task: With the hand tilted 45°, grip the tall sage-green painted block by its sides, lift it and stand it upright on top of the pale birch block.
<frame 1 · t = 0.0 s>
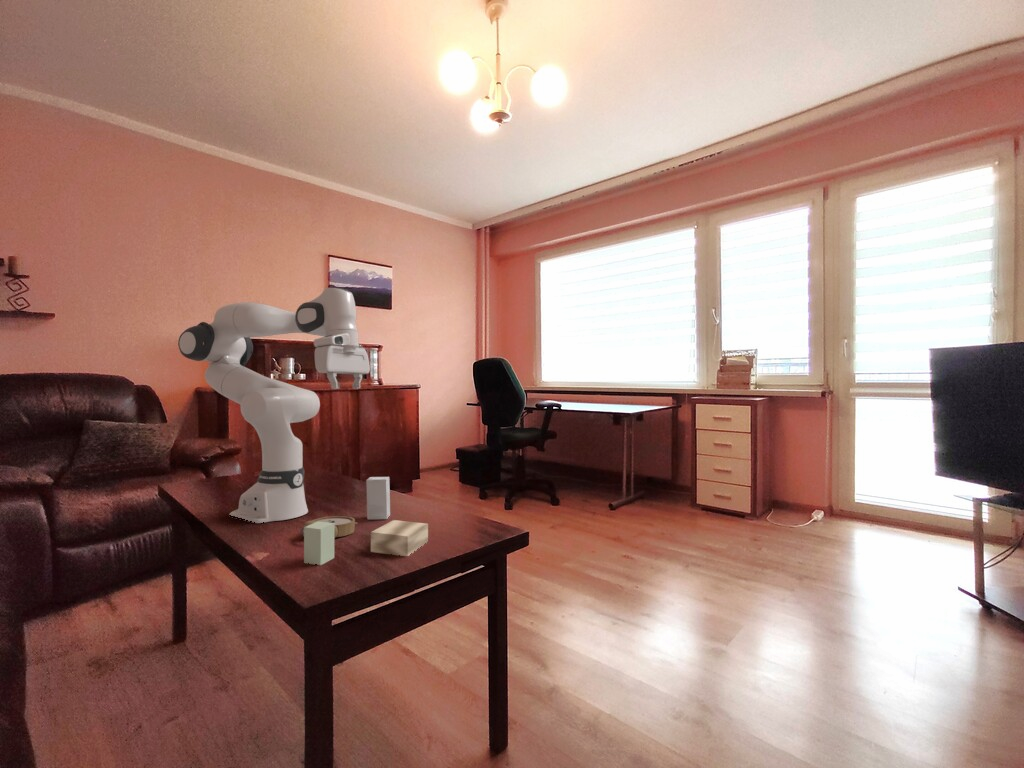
hand: (346, 389, 130), 39 cm above the table, tool pointing down, fingers open, 8 cm apart
alarm clock: (328, 536, 119), on the table
birch block: (400, 547, 110), on the table
sage block: (319, 560, 101), on the table
skincare box: (378, 518, 134), on the table
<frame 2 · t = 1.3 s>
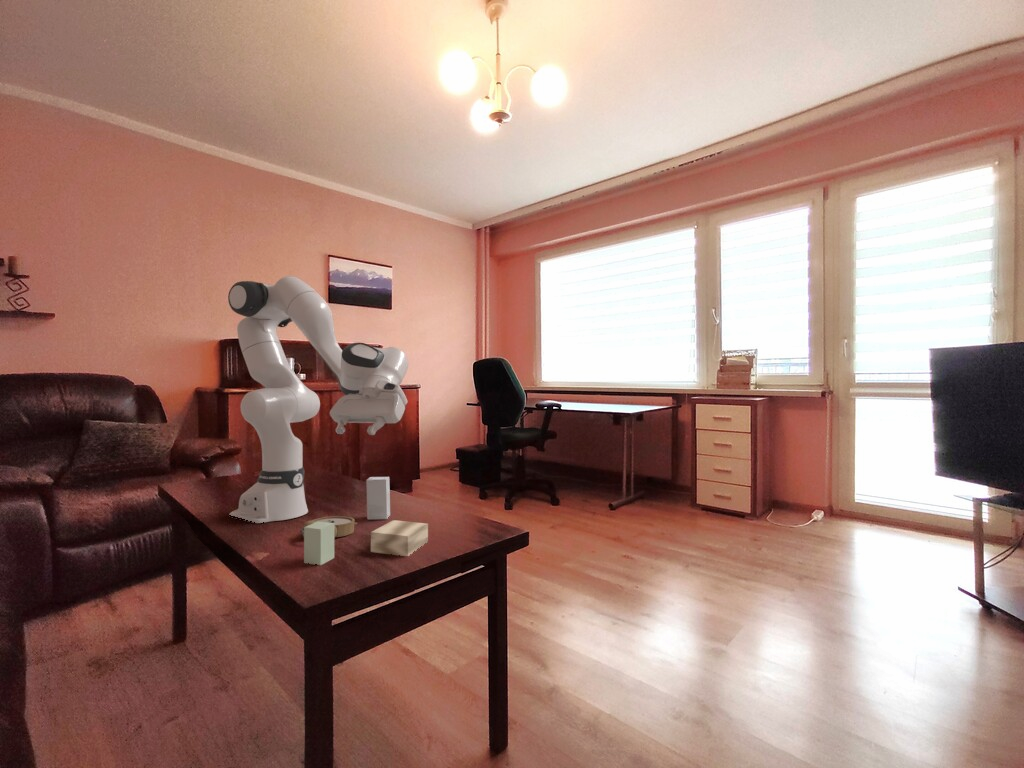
hand: (354, 433, 113), 28 cm above the table, tool tilted 45°, fingers open, 8 cm apart
nothing on the table moved.
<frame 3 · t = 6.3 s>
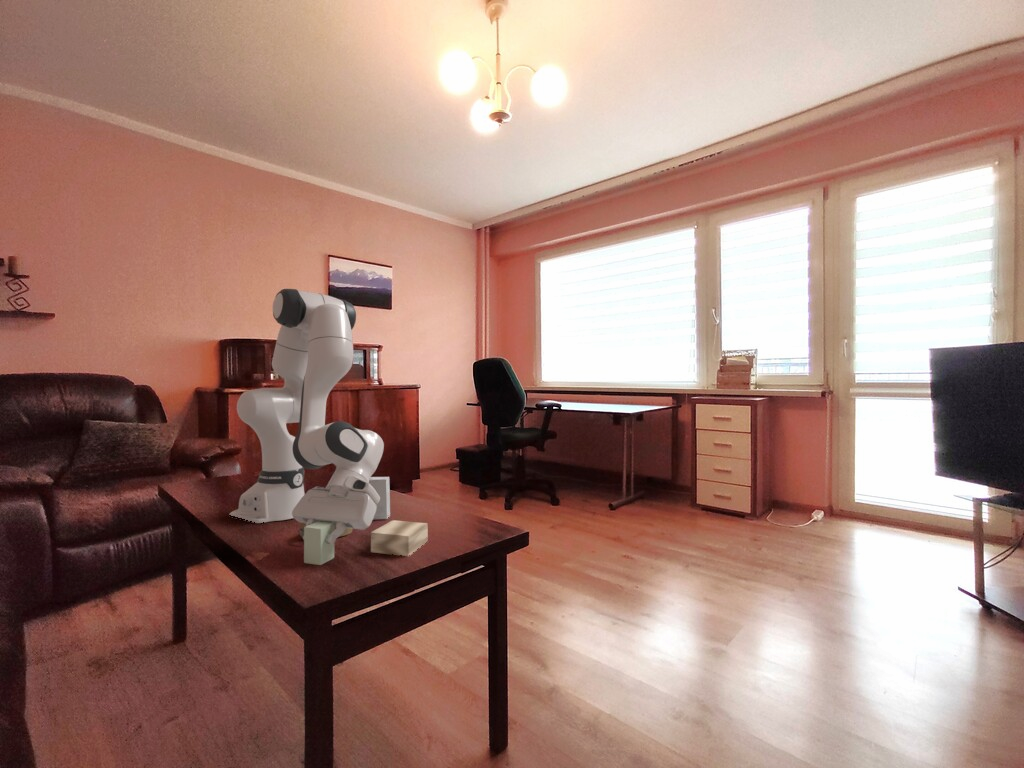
hand: (317, 541, 101), 4 cm above the table, tool tilted 45°, fingers closed on sage block, 4 cm apart
sage block: (319, 560, 101), on the table, touching gripper
everything else where it was.
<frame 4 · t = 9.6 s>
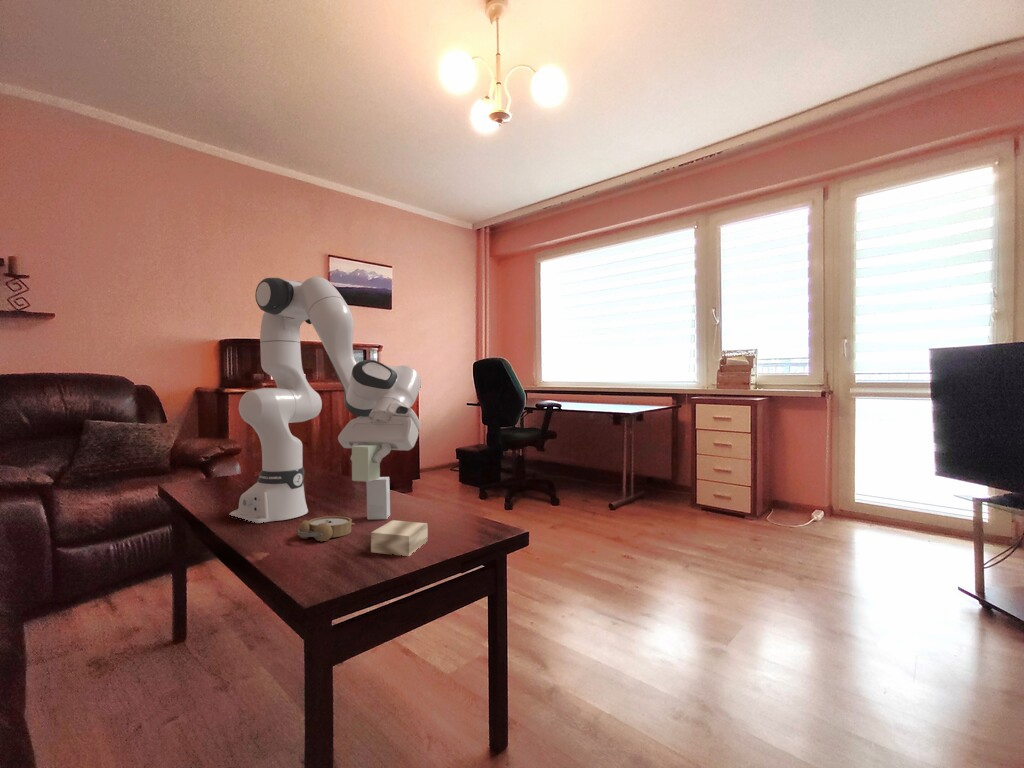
hand: (364, 461, 105), 22 cm above the table, tool tilted 45°, fingers closed on sage block, 4 cm apart
sage block: (366, 479, 106), point 18 cm above the table, touching gripper
everything else where it was.
when the fingers open (11 cm above the table, at t = 13.2 s): sage block drops 2 cm, point 5 cm above the table.
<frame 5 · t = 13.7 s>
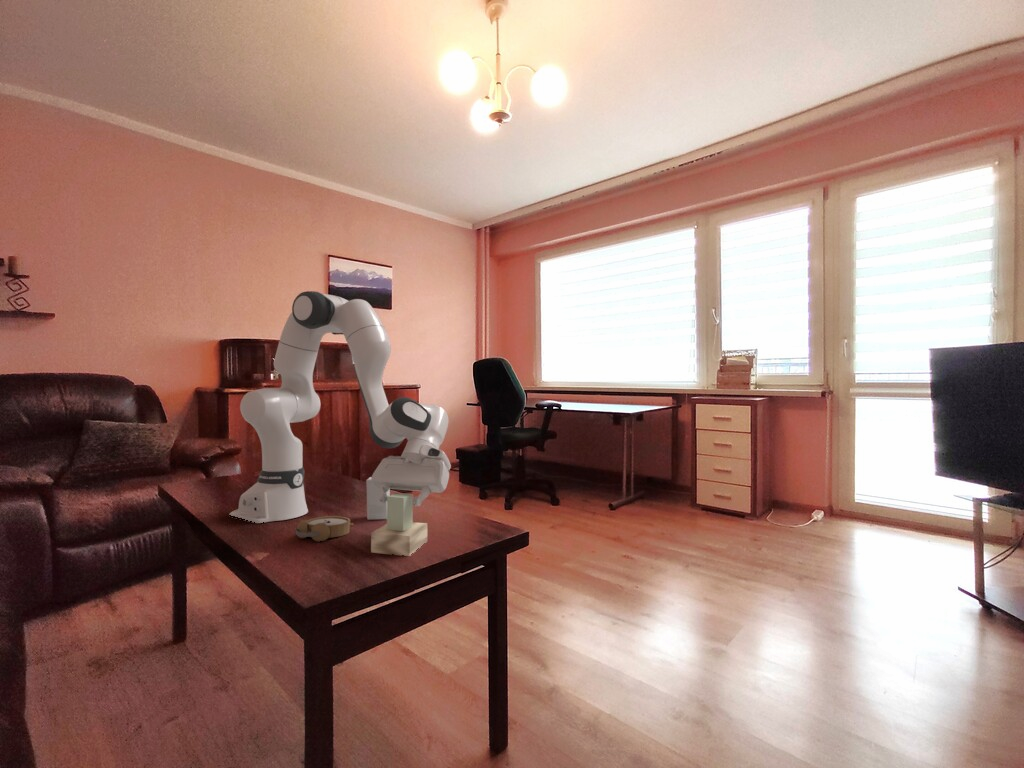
hand: (398, 503, 109), 11 cm above the table, tool tilted 45°, fingers open, 8 cm apart
sage block: (399, 527, 110), point 5 cm above the table
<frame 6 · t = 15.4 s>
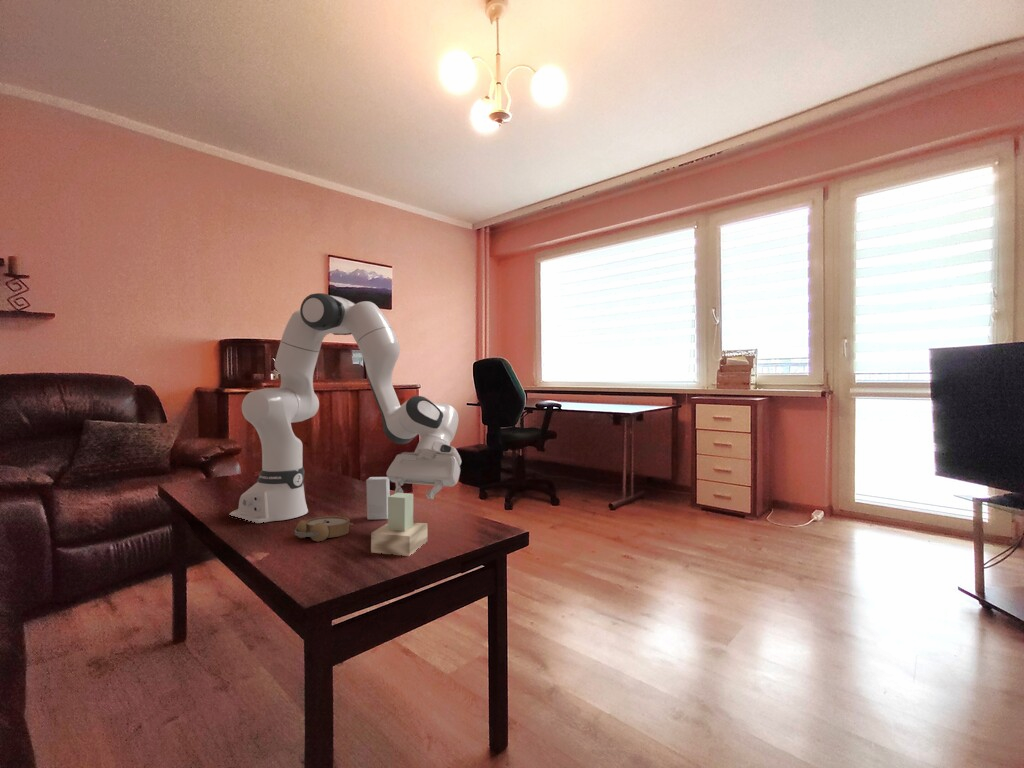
hand: (413, 496, 116), 11 cm above the table, tool tilted 45°, fingers open, 8 cm apart
birch block: (400, 548, 110), on the table, touching sage block
sage block: (400, 527, 110), point 5 cm above the table, touching birch block
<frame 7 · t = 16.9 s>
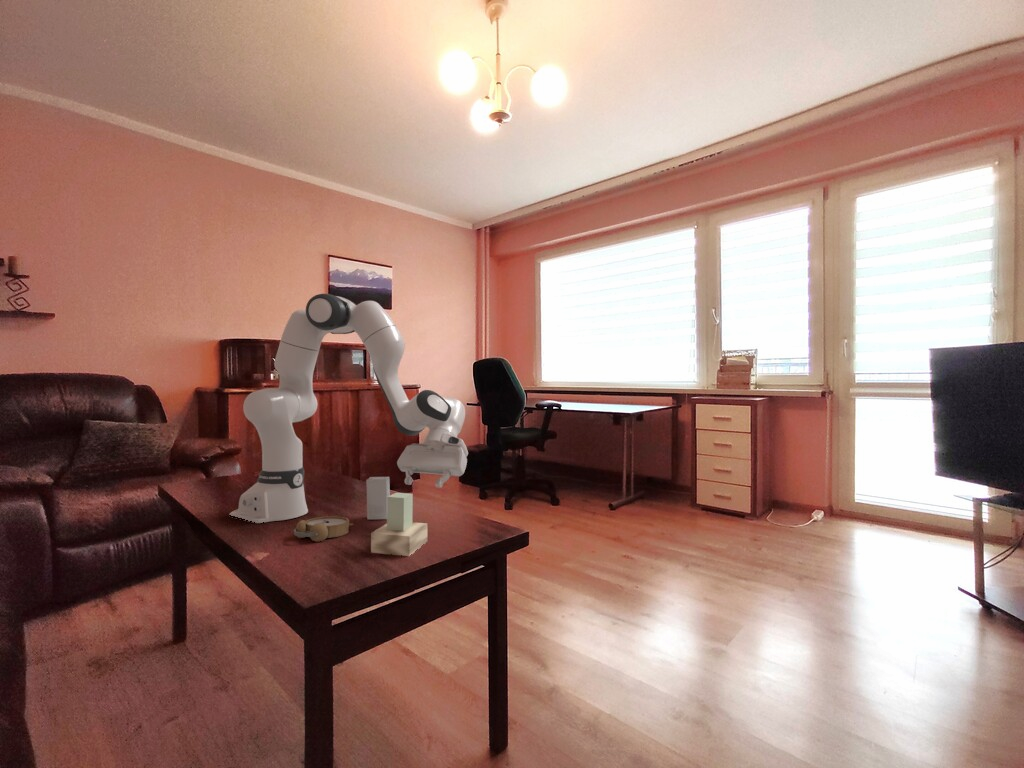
hand: (422, 484, 123), 12 cm above the table, tool tilted 45°, fingers open, 8 cm apart
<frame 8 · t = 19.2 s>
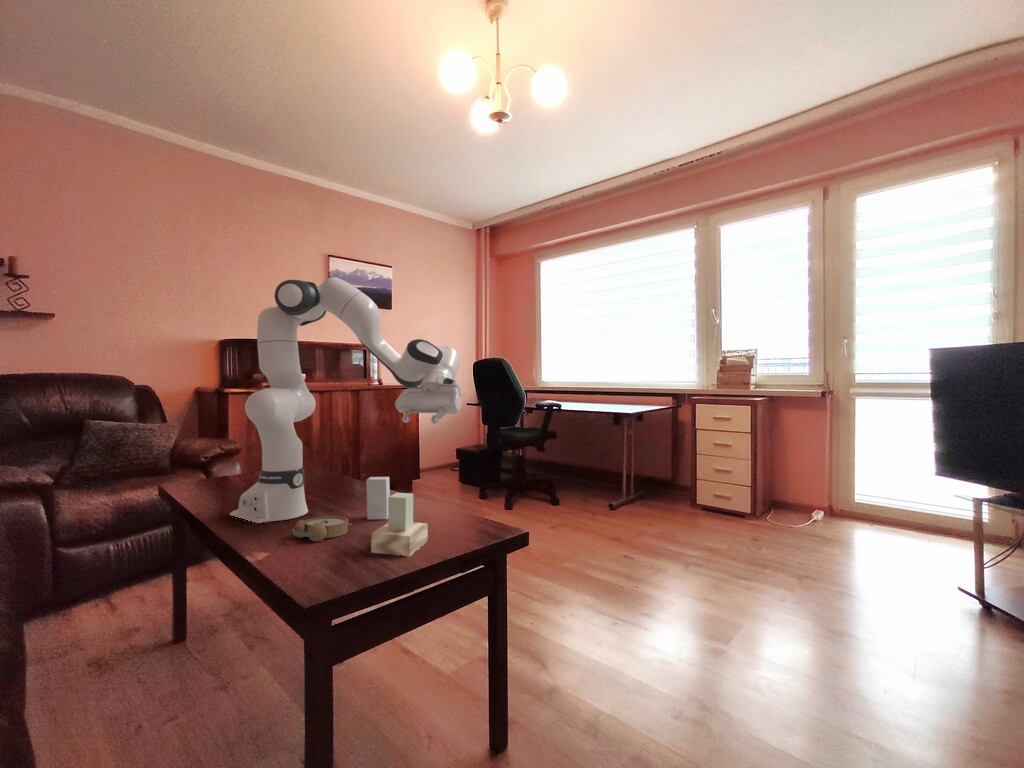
hand: (419, 421, 129), 29 cm above the table, tool tilted 45°, fingers open, 8 cm apart
birch block: (400, 548, 110), on the table
sage block: (400, 527, 110), point 5 cm above the table
at the end: sage block inside the target area on the birch block (0.4 cm from its centre), point 5.1 cm above the birch block's base; sage block tilted 1°; the gripper is holding nothing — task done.
